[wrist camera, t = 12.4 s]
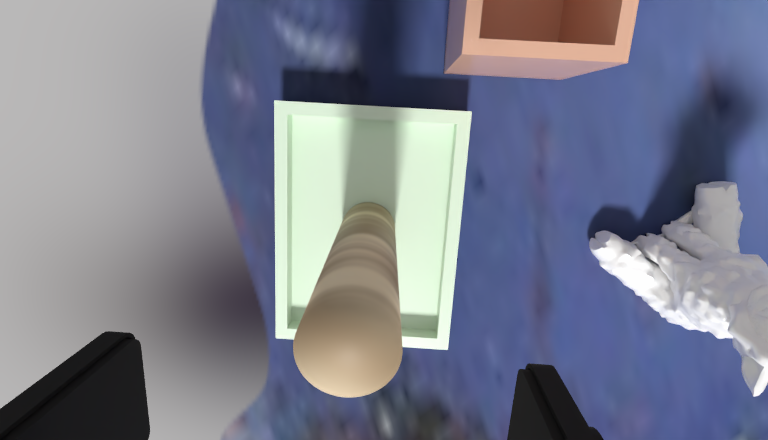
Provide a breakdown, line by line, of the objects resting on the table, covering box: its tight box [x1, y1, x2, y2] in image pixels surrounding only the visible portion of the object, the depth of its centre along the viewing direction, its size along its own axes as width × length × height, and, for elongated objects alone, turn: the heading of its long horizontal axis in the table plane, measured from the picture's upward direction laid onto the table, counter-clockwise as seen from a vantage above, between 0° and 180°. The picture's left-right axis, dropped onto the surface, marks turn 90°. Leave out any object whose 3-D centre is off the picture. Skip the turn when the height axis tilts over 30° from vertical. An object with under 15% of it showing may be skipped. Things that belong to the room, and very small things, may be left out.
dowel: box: [293, 202, 402, 397], centre depth 21 cm, size 4×4×15 cm
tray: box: [274, 100, 472, 350], centre depth 28 cm, size 16×12×2 cm
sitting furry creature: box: [589, 181, 768, 396], centre depth 23 cm, size 10×9×12 cm
